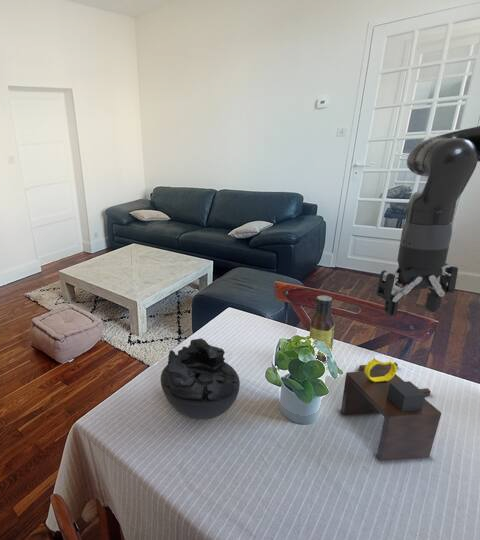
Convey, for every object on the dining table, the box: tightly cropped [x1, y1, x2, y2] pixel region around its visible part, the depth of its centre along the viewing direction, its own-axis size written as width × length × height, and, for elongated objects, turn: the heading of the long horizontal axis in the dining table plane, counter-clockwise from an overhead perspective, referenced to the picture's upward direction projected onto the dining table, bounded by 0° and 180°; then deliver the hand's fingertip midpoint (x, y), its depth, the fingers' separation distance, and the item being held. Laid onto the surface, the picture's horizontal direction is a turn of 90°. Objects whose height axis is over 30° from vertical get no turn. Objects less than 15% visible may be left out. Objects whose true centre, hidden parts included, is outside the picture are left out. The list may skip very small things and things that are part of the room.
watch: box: [364, 354, 398, 382], centre depth 76 cm, size 6×3×6 cm, turn 87°
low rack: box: [358, 362, 432, 397], centre depth 91 cm, size 10×12×2 cm
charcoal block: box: [387, 380, 426, 412], centre depth 69 cm, size 4×4×4 cm
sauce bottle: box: [309, 294, 336, 361], centre depth 102 cm, size 7×6×20 cm
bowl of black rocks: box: [160, 337, 241, 420], centre depth 87 cm, size 20×20×19 cm
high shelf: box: [340, 369, 442, 462], centre depth 75 cm, size 10×14×12 cm
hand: (410, 312), depth 74 cm, fingers open, 8 cm apart
